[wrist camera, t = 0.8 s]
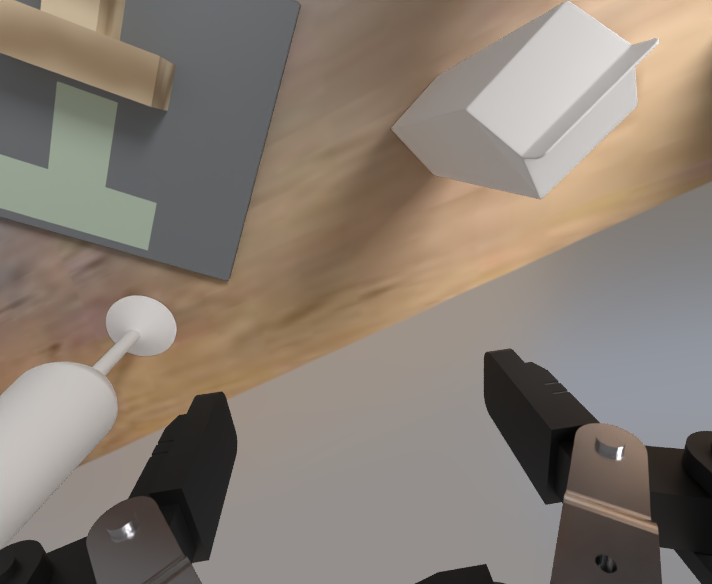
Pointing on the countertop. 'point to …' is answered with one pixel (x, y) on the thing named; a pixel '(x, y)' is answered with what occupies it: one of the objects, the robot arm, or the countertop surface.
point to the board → (151, 135)
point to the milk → (526, 104)
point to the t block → (85, 47)
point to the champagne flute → (67, 411)
